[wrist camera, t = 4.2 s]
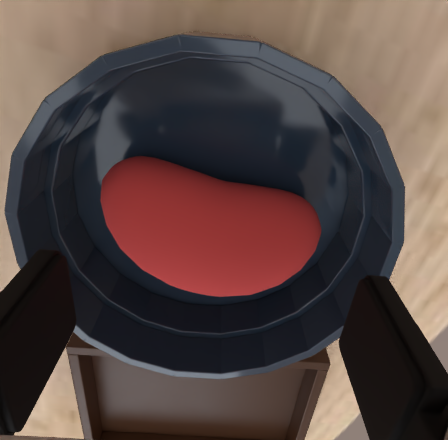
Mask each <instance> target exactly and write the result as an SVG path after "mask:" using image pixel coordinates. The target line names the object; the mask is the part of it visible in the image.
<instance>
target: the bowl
mask: <svg viewBox="0 0 448 440" xmlns="http://www.w3.org/2000/svg"><path fill="white" fill-rule="evenodd" d="M135 156H146V157H154V158H158V159H161V160H164V161H168V162H171V163H174V164H177V165H180V166H183V167H185V168H188V169H191V170H194V171H197V172H200V173H203V174H206V175H208V176H211V177H214V178H216V179H219V180H223V181H227V182H234V183H243V184H250V185H257V186H263V187H269V188H275V189H280V190H284V191H288V192H292V193H294V194H296V195H298V196H301V197H302V198H304V199H305V200H307V201H308V202H309V203H310V204H311V205H312V207H313V208H314V209H315V211H316V213H317V215H318V218H319V221H320V225H321V235H320V238H319V241H318V244H317V247H316V250H315V252H314V253H313V255H312V256H311V257H310V259H309V260H308V261H307V262H306V264H305V265H304V266H303V268H302V269H301V270H300V271H298V272H297V273H296V274H294V275H293V276H291V277H290V278H289V279H287V280H286V281H284V282H283V283H282V284H280V285H278V286H275V287H272V288H269V289H267V290H264V291H261V292H258V293H255V294H252V295H241V296H224V297H218V296H209V295H203V294H198V293H193V292H189V291H186V290H182V289H179V288H176V287H174V286H171V285H169V284H167V283H165V282H163V281H162V280H160V279H158V278H156V277H154V276H153V275H151V274H149V273H147V272H145V271H144V270H142V269H141V268H140V267H139V266H138V265H137V264H136V263H135V262H134V261H133V260H132V259H131V258H130V257H128V256H127V255H126V254H125V253H124V252H123V251H122V250H121V249H120V247H119V246H118V244H117V242H116V240H115V239H114V237H113V235H112V234H111V232H110V230H109V229H108V227H107V225H106V221H105V217H104V213H103V209H102V205H101V201H100V199H101V186H102V180H103V178H104V176H105V175H106V174H107V173H108V171H109V170H110V169H111V168H112V167H113V166H114V165H115V164H117V163H118V162H120V161H122V160H124V159H127V158H130V157H135ZM404 208H405V186H404V182H403V180H402V177H401V174H400V172H399V169H398V167H397V164H396V162H395V159H394V157H393V154H392V152H391V149H390V146H389V144H388V141H387V139H386V136H385V134H384V131H383V129H382V128H381V126H380V125H379V123H378V122H377V121H376V120H375V119H374V118H373V117H372V116H371V115H370V114H369V113H368V112H367V111H366V110H365V109H364V108H363V107H362V106H361V104H360V103H359V102H358V101H357V100H356V99H355V98H354V97H353V96H352V95H351V94H350V93H349V92H348V91H347V90H346V89H345V88H344V87H343V85H342V84H341V83H340V82H339V81H338V80H337V79H336V78H335V77H334V76H332V75H331V74H329V73H327V72H325V71H323V70H321V69H319V68H317V67H315V66H313V65H311V64H309V63H307V62H305V61H303V60H301V59H299V58H297V57H295V56H293V55H290V54H288V53H286V52H284V51H282V50H280V49H278V48H276V47H274V46H272V45H269V44H267V43H265V42H263V41H261V40H259V39H257V38H255V37H251V36H243V35H232V34H221V33H210V32H199V31H193V32H186V33H181V34H177V35H173V36H170V37H166V38H162V39H159V40H155V41H151V42H148V43H144V44H140V45H137V46H133V47H129V48H126V49H122V50H118V51H115V52H111V53H107V54H104V55H102V56H100V57H99V58H97V59H96V60H95V61H93V62H92V63H91V64H89V65H88V66H87V67H85V68H84V69H83V70H81V71H80V72H79V73H77V74H76V75H75V76H73V77H72V78H71V79H69V80H68V81H67V82H65V83H64V84H63V85H61V86H60V87H59V88H57V89H56V90H55V91H53V92H52V93H51V94H49V95H48V96H47V97H45V99H44V100H43V101H42V103H41V105H40V106H39V108H38V110H37V111H36V113H35V115H34V117H33V118H32V120H31V122H30V123H29V125H28V127H27V129H26V130H25V132H24V134H23V135H22V137H21V139H20V141H19V142H18V144H17V146H16V147H15V149H14V151H13V153H12V156H11V163H10V171H9V179H8V187H7V195H6V203H5V216H6V220H7V224H8V228H9V232H10V236H11V240H12V244H13V248H14V252H15V256H16V260H17V263H18V266H19V267H20V269H22V268H23V267H24V265H25V264H26V263H27V262H28V261H29V260H30V258H31V257H32V256H33V255H34V254H35V253H36V252H37V251H38V250H40V249H45V250H58V251H60V253H61V255H62V256H65V257H66V259H67V264H68V270H69V276H70V282H71V288H72V294H73V301H74V307H75V313H76V326H75V329H74V331H73V332H74V333H75V334H76V335H77V336H78V337H79V338H80V339H82V340H84V342H86V343H88V344H90V345H92V346H94V347H96V348H98V349H100V350H102V351H103V352H105V353H107V354H109V355H111V356H113V357H115V358H117V359H119V360H121V361H122V362H124V363H127V364H129V365H133V366H137V367H140V368H144V369H148V370H151V371H155V372H159V373H162V374H166V375H170V376H174V377H188V378H205V379H228V378H235V377H242V376H249V375H256V374H262V373H268V372H272V371H274V370H277V369H279V368H282V367H285V366H287V365H290V364H293V363H295V362H298V361H301V360H303V359H306V358H308V357H311V356H313V355H315V354H317V353H318V352H319V351H321V350H322V349H324V348H325V347H327V346H328V345H330V344H331V343H333V342H334V341H335V340H337V339H338V338H340V336H341V333H342V330H343V327H344V324H345V321H346V318H347V315H348V312H349V309H350V306H351V303H352V300H353V297H354V294H355V291H356V288H357V285H358V282H359V280H360V279H364V278H365V277H366V276H367V275H374V276H385V277H387V278H388V279H390V276H391V274H392V271H393V269H394V266H395V264H396V261H397V258H398V256H399V253H400V251H401V248H402V246H403V243H404V242H403V241H404Z"/></svg>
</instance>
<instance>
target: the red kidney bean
mask: <svg viewBox="0 0 448 440" xmlns="http://www.w3.org/2000/svg"><path fill="white" fill-rule="evenodd" d="M100 201H101V205H102V209H103V213H104V217H105V221H106V225H107V227H108V229H109V230H110V232H111V234H112V235H113V237H114V239H115V240H116V242H117V244H118V246H119V247H120V249H121V250H122V251H123V252H124V253H125V254H126V255H127V256H128V257H130V258H131V259H132V260H133V261H134V262H135V263H136V264H137V265H138V266H139V267H140V268H141V269H142V270H144V271H145V272H147V273H149V274H151V275H153V276H154V277H156V278H158V279H160V280H162V281H163V282H165V283H167V284H169V285H171V286H174V287H176V288H179V289H182V290H186V291H189V292H193V293H198V294H203V295H209V296H218V297H224V296H241V295H252V294H255V293H258V292H261V291H264V290H267V289H269V288H272V287H275V286H278V285H280V284H282V283H283V282H284V281H286V280H287V279H289V278H290V277H291V276H293V275H294V274H296V273H297V272H298V271H300V270H301V269H302V268H303V266H304V265H305V264H306V262H307V261H308V260H309V259H310V257H311V256H312V255H313V253H314V252H315V250H316V247H317V244H318V241H319V238H320V235H321V225H320V221H319V218H318V215H317V213H316V211H315V209H314V208H313V207H312V205H311V204H310V203H309V202H308V201H307V200H305V199H304V198H302V197H301V196H298V195H296V194H294V193H292V192H288V191H284V190H280V189H275V188H269V187H263V186H257V185H250V184H243V183H234V182H227V181H223V180H219V179H216V178H214V177H211V176H208V175H206V174H203V173H200V172H197V171H194V170H191V169H188V168H185V167H183V166H180V165H177V164H174V163H171V162H168V161H164V160H161V159H158V158H154V157H146V156H135V157H130V158H127V159H124V160H122V161H120V162H118V163H117V164H115V165H114V166H113V167H112V168H111V169H110V170H109V171H108V173H107V174H106V175H105V176H104V178H103V180H102V186H101V199H100Z"/></svg>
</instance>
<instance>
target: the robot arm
mask: <svg viewBox="0 0 448 440" xmlns="http://www.w3.org/2000/svg"><path fill="white" fill-rule="evenodd" d="M75 326H76V313H75V307H74V301H73V294H72V288H71V282H70V276H69V270H68V264H67V259H66V257H65V256H62V255H61V253H60V251H58V250H45V249H40V250H38V251H37V252H36V253H35V254H34V255H33V256H32V257H31V258H30V260H29V261H28V262H27V263H26V264H25V265H24V267H23V268H22V269H21V270H20V271H19V272H18V273H17V275H16V276H15V277H14V278H13V279H12V280H11V281H10V283H9V284H8V285H7V286H6V287H5V288H4V289H3V290H2V291H1V292H0V440H89V439H73V438H57V437H36V436H14V433H15V432H20V431H21V430H22V429H23V427H24V425H25V423H26V422H27V420H28V418H29V416H30V414H31V412H32V410H33V408H34V406H35V404H36V402H37V400H38V399H39V397H40V395H41V393H42V391H43V389H44V387H45V385H46V383H47V381H48V379H49V377H50V376H51V374H52V372H53V370H54V368H55V366H56V364H57V362H58V360H59V358H60V356H61V354H62V353H63V351H64V349H65V347H66V345H67V343H68V341H69V339H70V337H71V335H72V333H73V331H74V329H75ZM339 348H340V352H341V355H342V358H343V361H344V364H345V367H346V370H347V373H348V376H349V379H350V382H351V385H352V388H353V391H354V394H355V397H356V400H357V403H358V406H359V409H360V412H361V415H362V418H363V421H364V424H365V427H366V430H367V433H368V436H369V439H370V440H448V374H447V372H446V370H445V369H444V367H443V365H442V364H441V362H440V361H439V359H438V357H437V356H436V354H435V352H434V351H433V350H432V348H431V346H430V344H429V343H428V341H427V340H426V338H425V336H424V335H423V333H422V331H421V330H420V328H419V327H418V325H417V324H416V323H415V321H414V320H413V318H412V317H411V315H410V313H409V312H408V310H407V308H406V307H405V305H404V304H403V302H402V300H401V299H400V297H399V295H398V294H397V292H396V291H395V289H394V287H393V286H392V284H391V283H390V281H389V279H388V278H387V277H385V276H374V275H367V276H366V277H365V278H364V279H360V280H359V282H358V285H357V288H356V291H355V294H354V297H353V300H352V303H351V306H350V309H349V312H348V315H347V318H346V321H345V324H344V327H343V330H342V333H341V336H340V339H339Z"/></svg>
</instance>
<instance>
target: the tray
mask: <svg viewBox="0 0 448 440" xmlns="http://www.w3.org/2000/svg"><path fill="white" fill-rule="evenodd" d="M66 349H67V354H68V359H69V364H70V369H71V374H72V379H73V384H74V389H75V394H76V399H77V404H78V409H79V414H80V419H81V424H82V429H83V434H84V439H89V440H305V437H306V434H307V431H308V428H309V425H310V422H311V419H312V416H313V413H314V410H315V407H316V404H317V401H318V398H319V395H320V392H321V389H322V386H323V384H324V381H325V378H326V375H327V372H328V369H329V366H330V361H329V357H328V354H327V351H326V347H325V348H324V349H322V350H321V351H319V352H318V353H317V354H315V355H313V356H311V357H308V358H306V359H303V360H301V361H298V362H295V363H293V364H290V365H287V366H285V367H282V368H279V369H277V370H274V371H272V372H268V373H262V374H256V375H249V376H242V377H235V378H228V379H205V378H188V377H174V376H170V375H166V374H162V373H159V372H155V371H151V370H148V369H144V368H140V367H137V366H133V365H129V364H127V363H124V362H122V361H121V360H119V359H117V358H115V357H113V356H111V355H109V354H107V353H105V352H103V351H102V350H100V349H98V348H96V347H94V346H92V345H90V344H88V343H86V342H84V340H82V339H80V338H79V337H78V336H77V335H76V334H75V333H74V332H73V334H72V336H71V338H70V340H69V342H68V344H67V346H66Z"/></svg>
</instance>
